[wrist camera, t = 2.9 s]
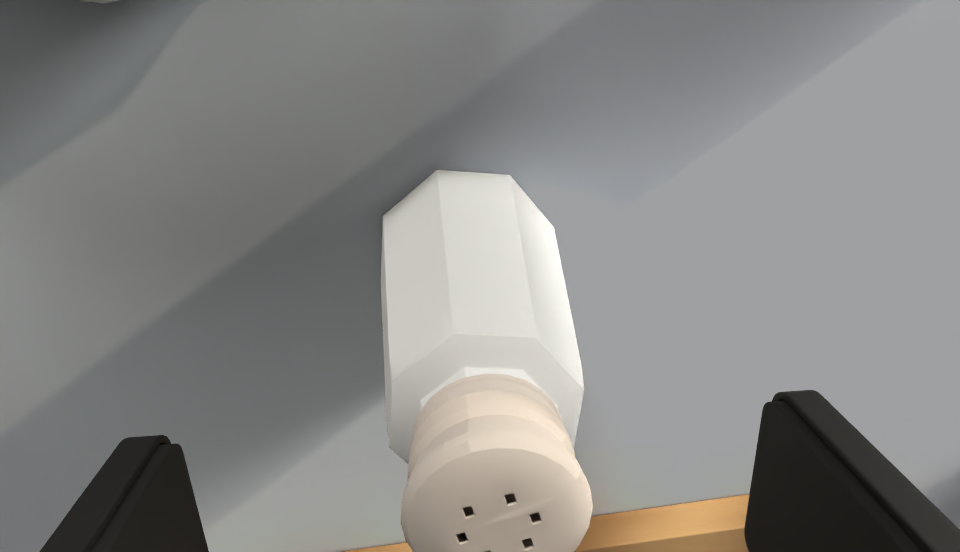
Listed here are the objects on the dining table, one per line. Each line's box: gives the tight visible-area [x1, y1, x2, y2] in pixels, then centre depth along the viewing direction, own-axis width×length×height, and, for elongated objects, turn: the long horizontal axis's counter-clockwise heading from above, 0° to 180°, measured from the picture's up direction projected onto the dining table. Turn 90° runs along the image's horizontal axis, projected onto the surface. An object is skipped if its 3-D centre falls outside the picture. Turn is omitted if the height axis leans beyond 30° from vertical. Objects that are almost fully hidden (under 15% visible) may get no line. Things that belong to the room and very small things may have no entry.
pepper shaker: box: [381, 170, 593, 552], centre depth 14 cm, size 5×5×11 cm
